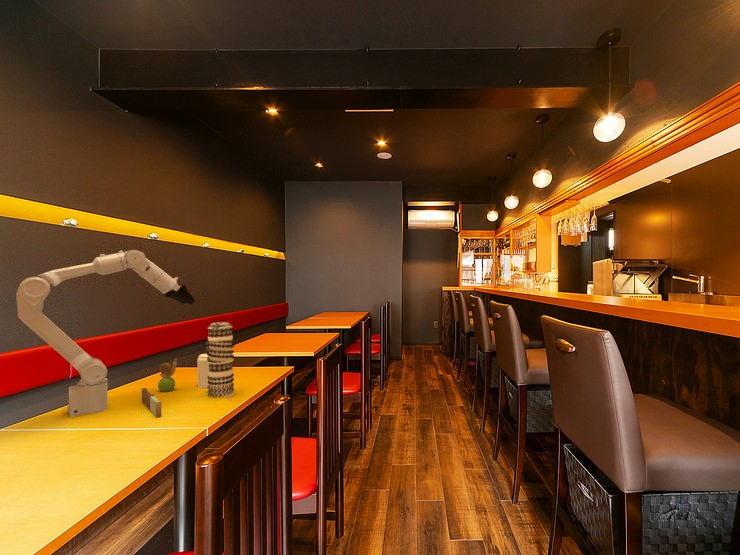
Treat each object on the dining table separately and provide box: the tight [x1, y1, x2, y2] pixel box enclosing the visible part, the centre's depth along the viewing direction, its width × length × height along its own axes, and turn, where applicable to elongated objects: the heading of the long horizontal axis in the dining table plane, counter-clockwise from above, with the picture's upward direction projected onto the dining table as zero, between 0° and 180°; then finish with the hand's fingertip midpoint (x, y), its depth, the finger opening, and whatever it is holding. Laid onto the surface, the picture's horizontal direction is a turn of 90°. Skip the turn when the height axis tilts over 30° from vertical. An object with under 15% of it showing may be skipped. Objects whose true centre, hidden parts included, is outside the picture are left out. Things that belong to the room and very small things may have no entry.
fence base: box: [141, 387, 155, 411], centre depth 113 cm, size 2×11×4 cm, turn 43°
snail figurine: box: [157, 358, 178, 393], centre depth 129 cm, size 5×6×12 cm
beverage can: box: [196, 353, 209, 389], centre depth 135 cm, size 8×8×12 cm
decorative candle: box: [205, 321, 235, 399], centre depth 124 cm, size 9×9×25 cm
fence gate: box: [149, 395, 162, 418], centre depth 106 cm, size 9×1×4 cm, turn 43°
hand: (189, 302), depth 129 cm, fingers open, 7 cm apart
